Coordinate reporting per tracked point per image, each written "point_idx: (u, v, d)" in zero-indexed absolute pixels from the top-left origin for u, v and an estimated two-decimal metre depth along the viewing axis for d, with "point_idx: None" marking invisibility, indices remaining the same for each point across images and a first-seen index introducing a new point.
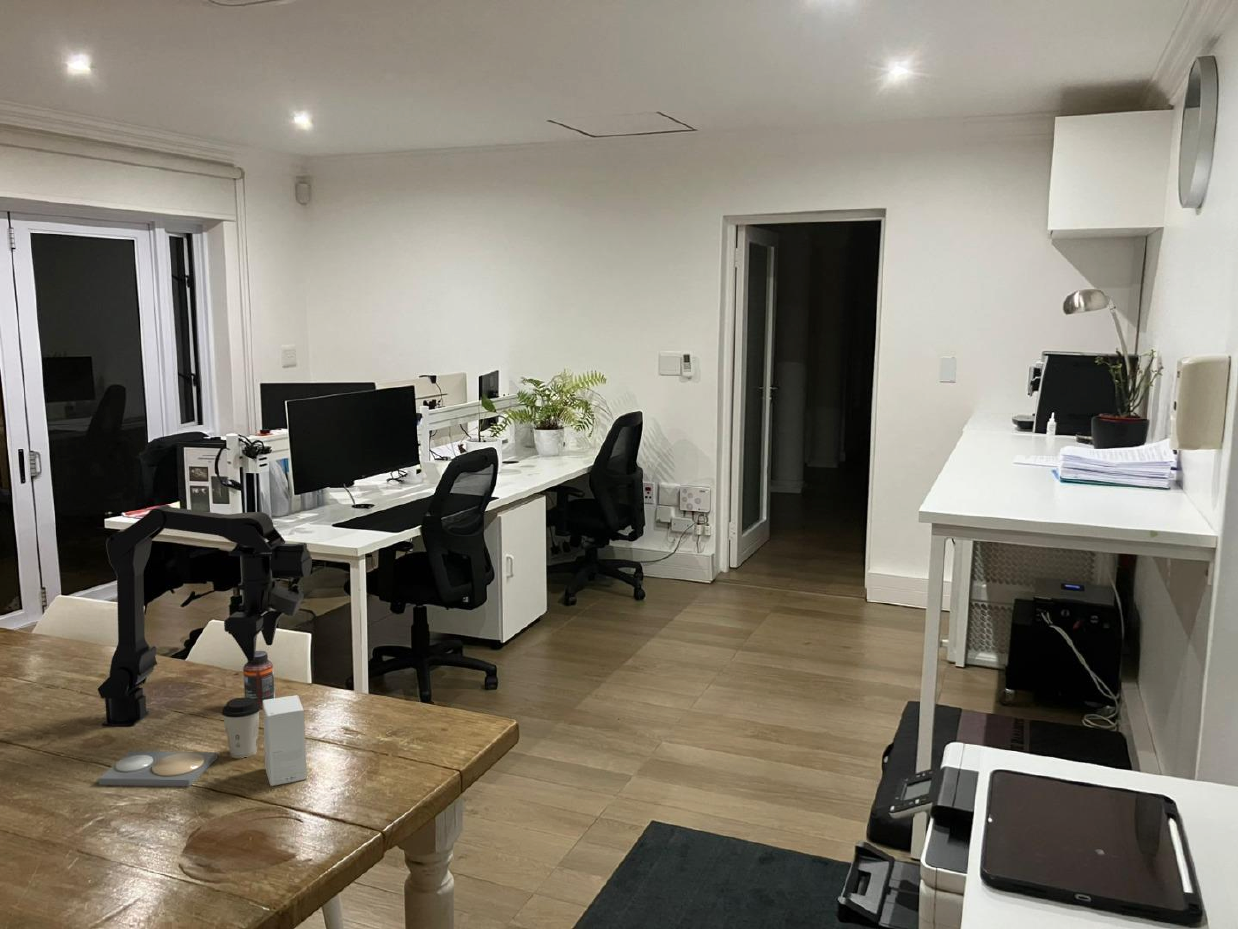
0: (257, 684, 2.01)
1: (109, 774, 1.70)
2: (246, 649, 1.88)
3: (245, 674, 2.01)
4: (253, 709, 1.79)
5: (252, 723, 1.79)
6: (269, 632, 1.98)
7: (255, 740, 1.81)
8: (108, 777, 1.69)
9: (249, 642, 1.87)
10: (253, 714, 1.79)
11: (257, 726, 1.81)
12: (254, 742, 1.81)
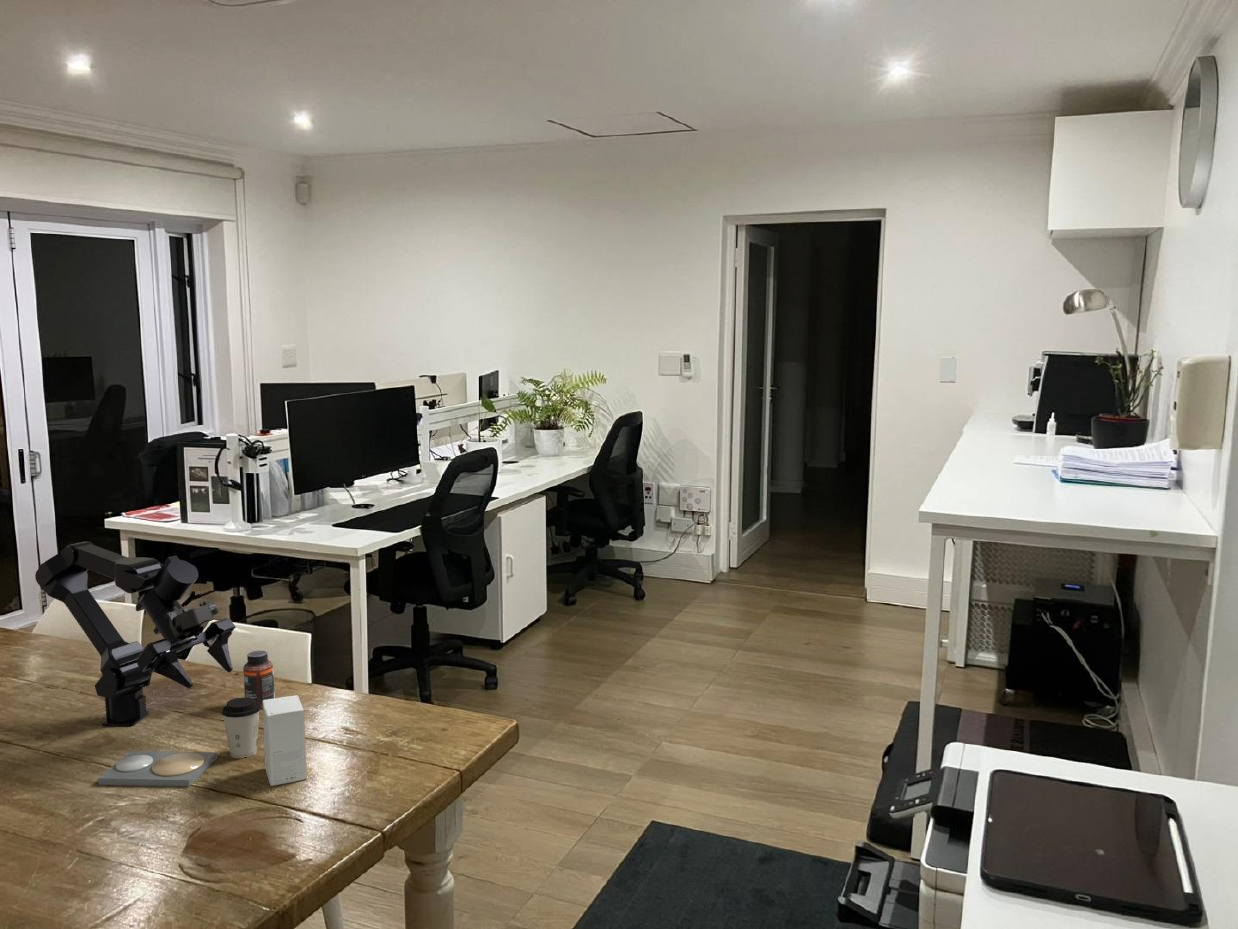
0: (257, 684, 2.01)
1: (109, 774, 1.70)
2: (179, 678, 1.79)
3: (245, 674, 2.01)
4: (253, 709, 1.79)
5: (252, 723, 1.79)
6: (223, 659, 1.88)
7: (255, 740, 1.81)
8: (108, 777, 1.69)
9: (174, 670, 1.79)
10: (253, 714, 1.79)
11: (257, 726, 1.81)
12: (254, 742, 1.81)
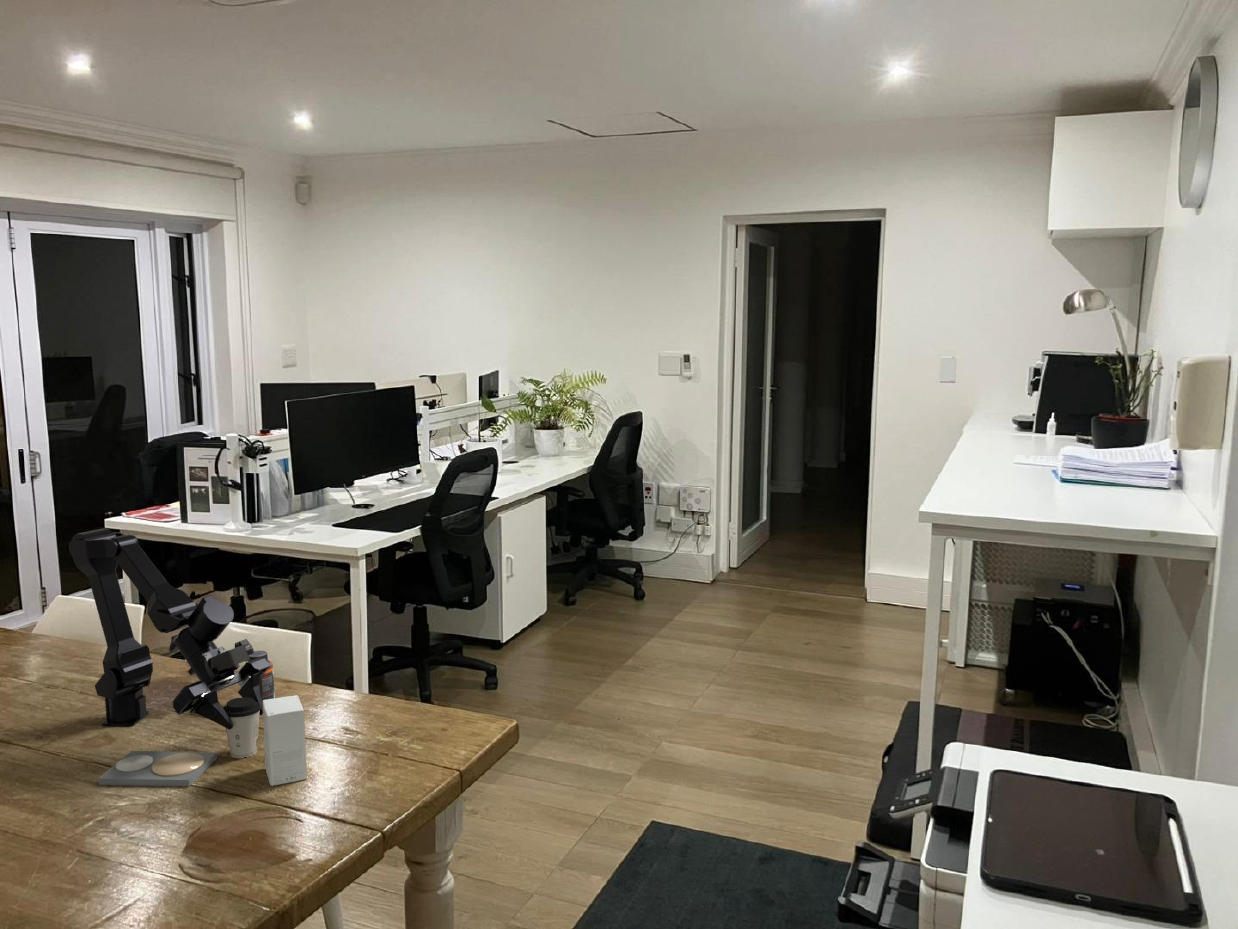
0: None
1: (109, 774, 1.70)
2: (219, 719, 1.77)
3: None
4: (253, 709, 1.79)
5: (252, 723, 1.79)
6: None
7: (255, 740, 1.81)
8: (108, 777, 1.69)
9: (215, 711, 1.77)
10: (253, 714, 1.79)
11: (257, 726, 1.81)
12: (254, 742, 1.81)
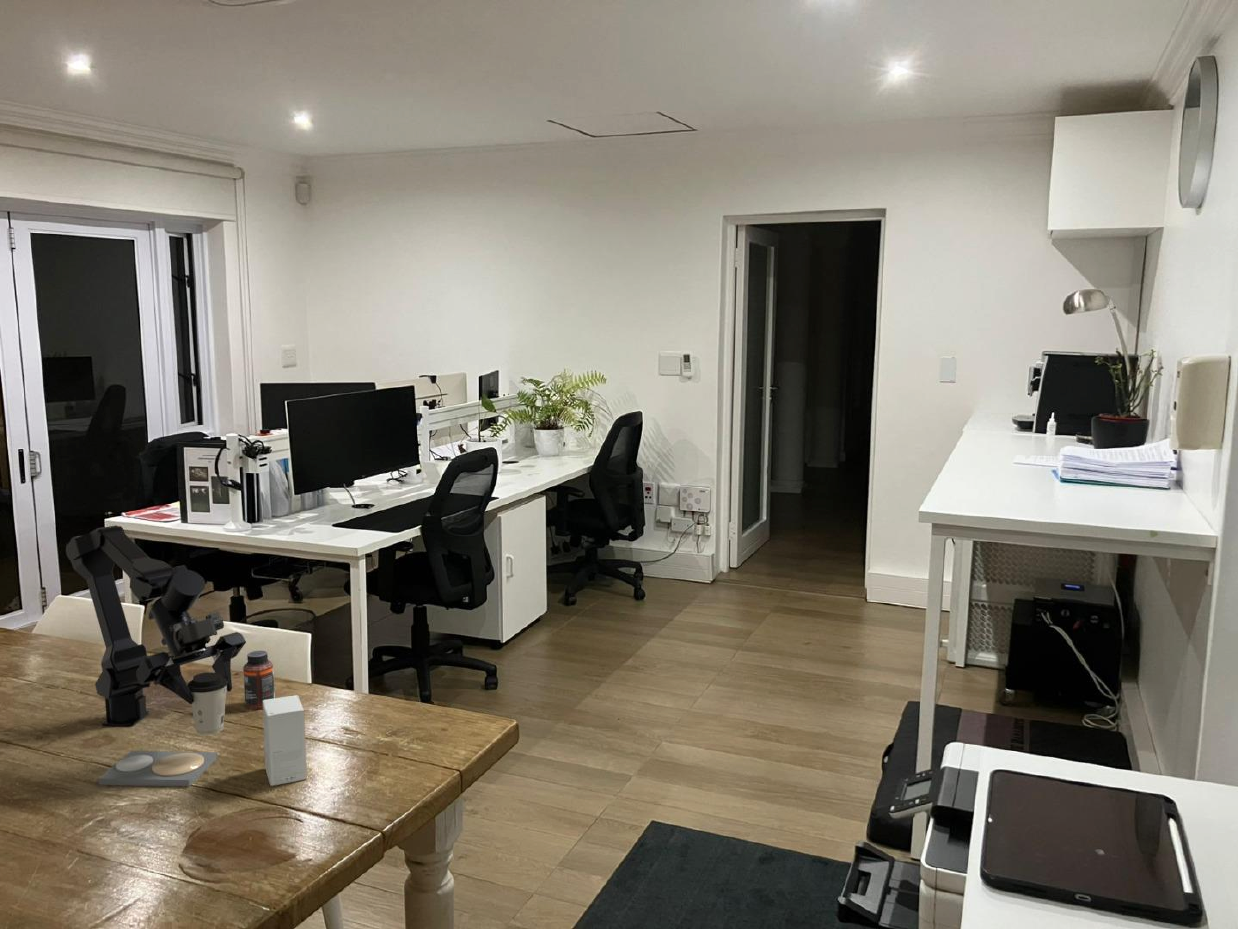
0: (257, 684, 2.01)
1: (109, 774, 1.70)
2: (181, 693, 1.72)
3: (245, 674, 2.01)
4: (217, 685, 1.74)
5: (216, 699, 1.74)
6: None
7: (220, 717, 1.75)
8: (108, 777, 1.69)
9: (177, 684, 1.72)
10: (216, 690, 1.73)
11: (222, 703, 1.75)
12: (218, 720, 1.75)
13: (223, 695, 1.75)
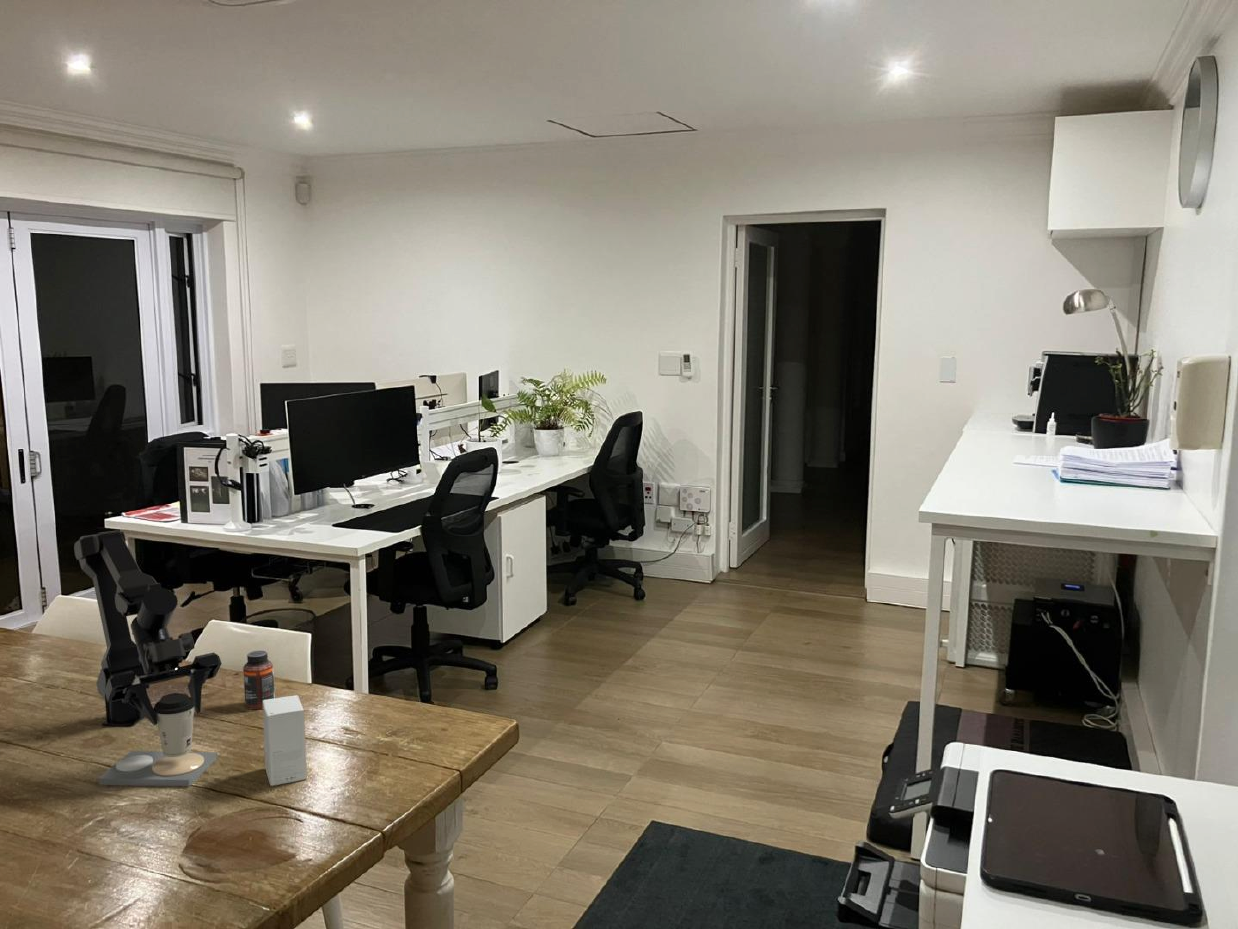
0: (257, 684, 2.01)
1: (109, 774, 1.70)
2: (146, 713, 1.70)
3: (245, 674, 2.01)
4: (181, 708, 1.70)
5: (179, 722, 1.70)
6: (194, 699, 1.75)
7: (185, 740, 1.72)
8: (108, 777, 1.69)
9: (142, 704, 1.70)
10: (179, 713, 1.70)
11: (187, 726, 1.72)
12: (182, 742, 1.72)
13: (188, 718, 1.72)
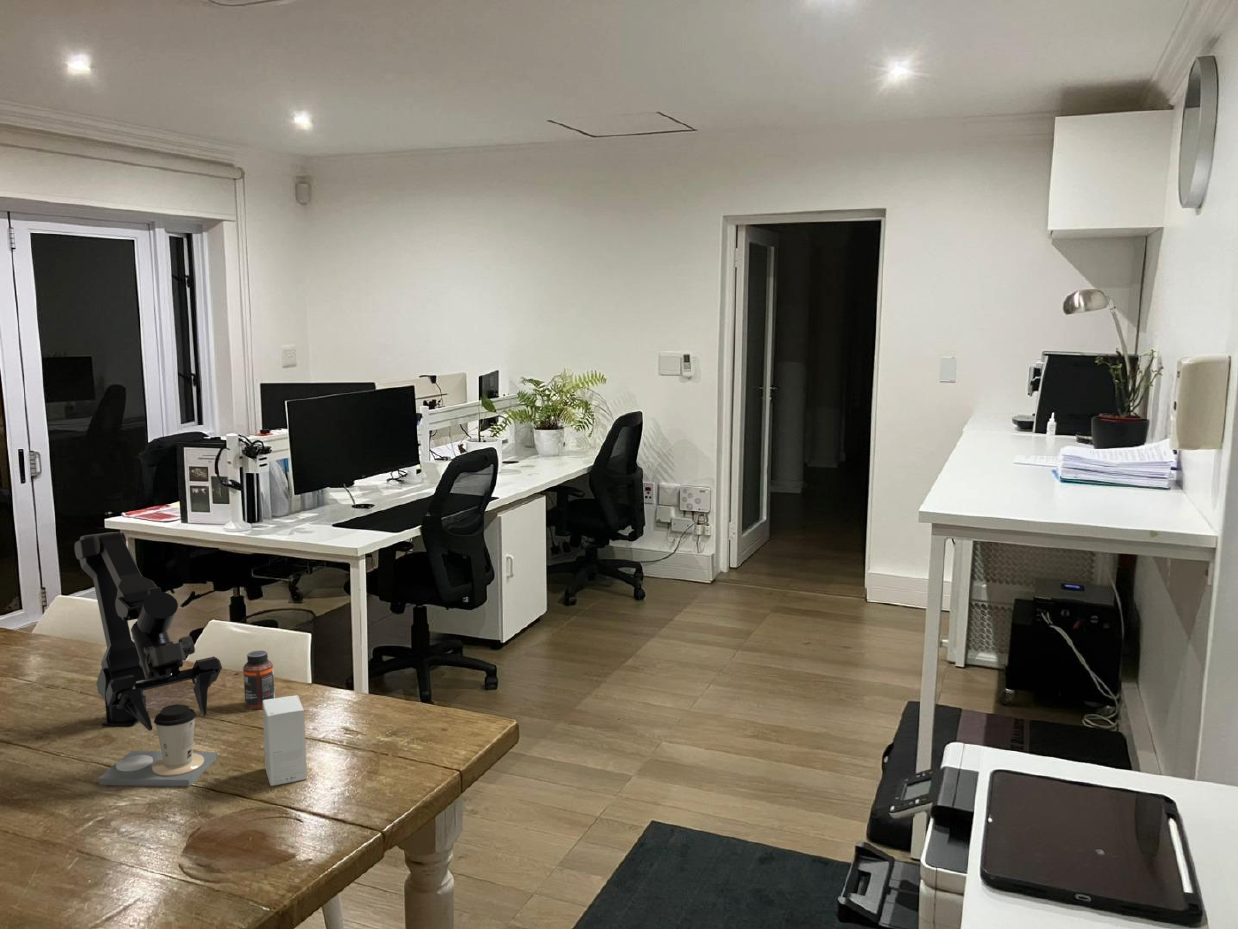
0: (257, 684, 2.01)
1: (109, 774, 1.70)
2: (141, 719, 1.70)
3: (245, 674, 2.01)
4: (182, 719, 1.71)
5: (180, 733, 1.71)
6: (200, 702, 1.76)
7: (186, 751, 1.72)
8: (108, 777, 1.69)
9: (137, 709, 1.69)
10: (180, 724, 1.70)
11: (188, 737, 1.72)
12: (183, 754, 1.72)
13: (189, 729, 1.72)
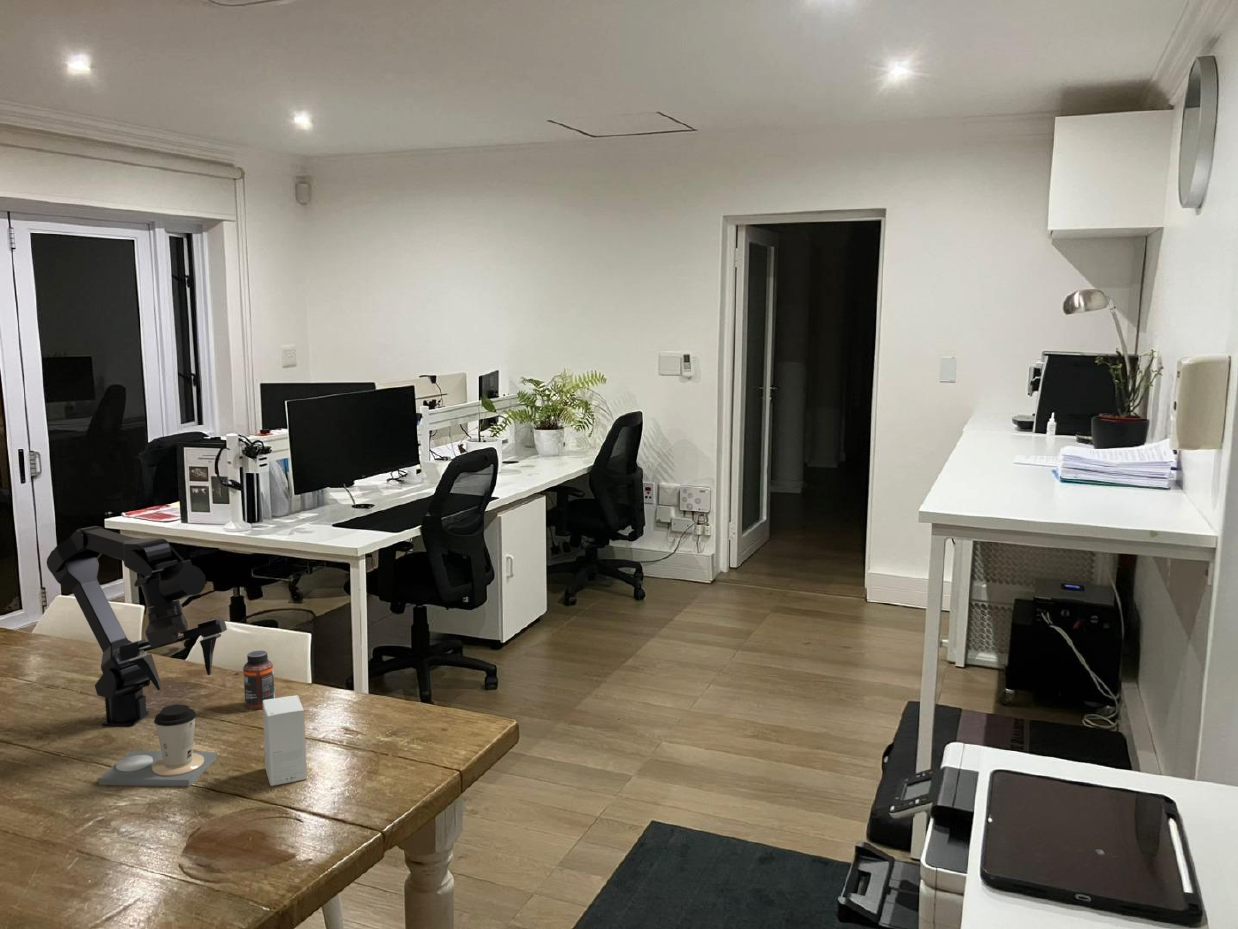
0: (257, 684, 2.01)
1: (109, 774, 1.70)
2: None
3: (245, 674, 2.01)
4: (182, 719, 1.71)
5: (180, 733, 1.71)
6: None
7: (186, 751, 1.72)
8: (108, 777, 1.69)
9: None
10: (180, 724, 1.70)
11: (188, 737, 1.72)
12: (183, 754, 1.72)
13: (189, 729, 1.72)
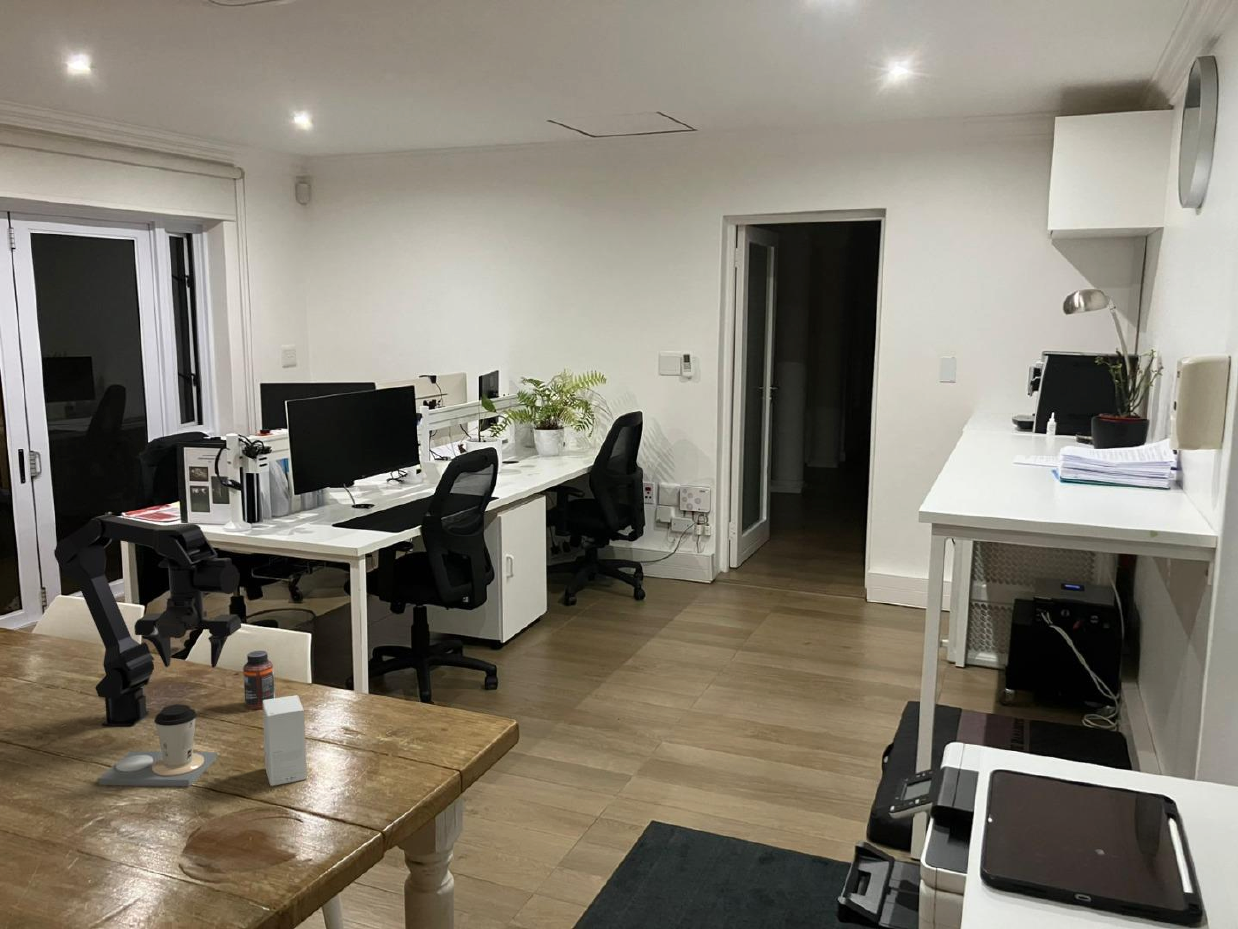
0: (257, 684, 2.01)
1: (109, 774, 1.70)
2: None
3: (245, 674, 2.01)
4: (182, 719, 1.71)
5: (180, 733, 1.71)
6: None
7: (186, 751, 1.72)
8: (108, 777, 1.69)
9: None
10: (180, 724, 1.70)
11: (188, 737, 1.72)
12: (183, 754, 1.72)
13: (189, 729, 1.72)
